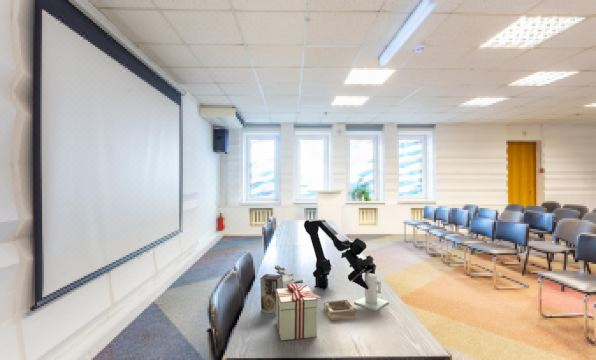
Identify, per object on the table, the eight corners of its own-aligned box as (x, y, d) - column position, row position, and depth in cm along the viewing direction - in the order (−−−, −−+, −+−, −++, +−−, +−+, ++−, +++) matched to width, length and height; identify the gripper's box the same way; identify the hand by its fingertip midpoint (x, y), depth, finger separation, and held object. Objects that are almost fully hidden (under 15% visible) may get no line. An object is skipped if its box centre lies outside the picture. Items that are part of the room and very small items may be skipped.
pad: (354, 303, 143) (354, 301, 143) (367, 296, 151) (367, 294, 151) (375, 311, 135) (375, 309, 135) (388, 303, 143) (388, 301, 143)
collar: (324, 309, 137) (324, 301, 137) (347, 307, 139) (346, 299, 139) (330, 320, 126) (330, 312, 126) (355, 318, 128) (355, 310, 128)
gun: (266, 265, 202) (279, 261, 207) (267, 270, 202) (280, 266, 207) (287, 281, 170) (302, 277, 174) (288, 287, 170) (303, 283, 174)
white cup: (277, 294, 156) (277, 276, 156) (291, 293, 157) (291, 275, 157) (277, 300, 148) (277, 281, 148) (292, 299, 149) (292, 280, 149)
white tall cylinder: (362, 301, 143) (362, 275, 143) (369, 298, 147) (368, 272, 147) (377, 306, 137) (376, 279, 137) (383, 302, 141) (383, 276, 142)
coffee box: (283, 308, 139) (283, 275, 139) (278, 314, 133) (277, 279, 133) (266, 306, 142) (265, 273, 142) (260, 311, 136) (259, 277, 136)
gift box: (327, 335, 114) (326, 291, 114) (281, 343, 109) (280, 298, 109) (312, 316, 130) (312, 278, 130) (272, 322, 125) (272, 282, 125)
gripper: (352, 254, 140) (372, 282, 132) (372, 247, 153) (392, 273, 145) (339, 267, 145) (358, 295, 137) (360, 259, 158) (378, 284, 150)
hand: (372, 286), depth 142 cm, fingers open, 9 cm apart
